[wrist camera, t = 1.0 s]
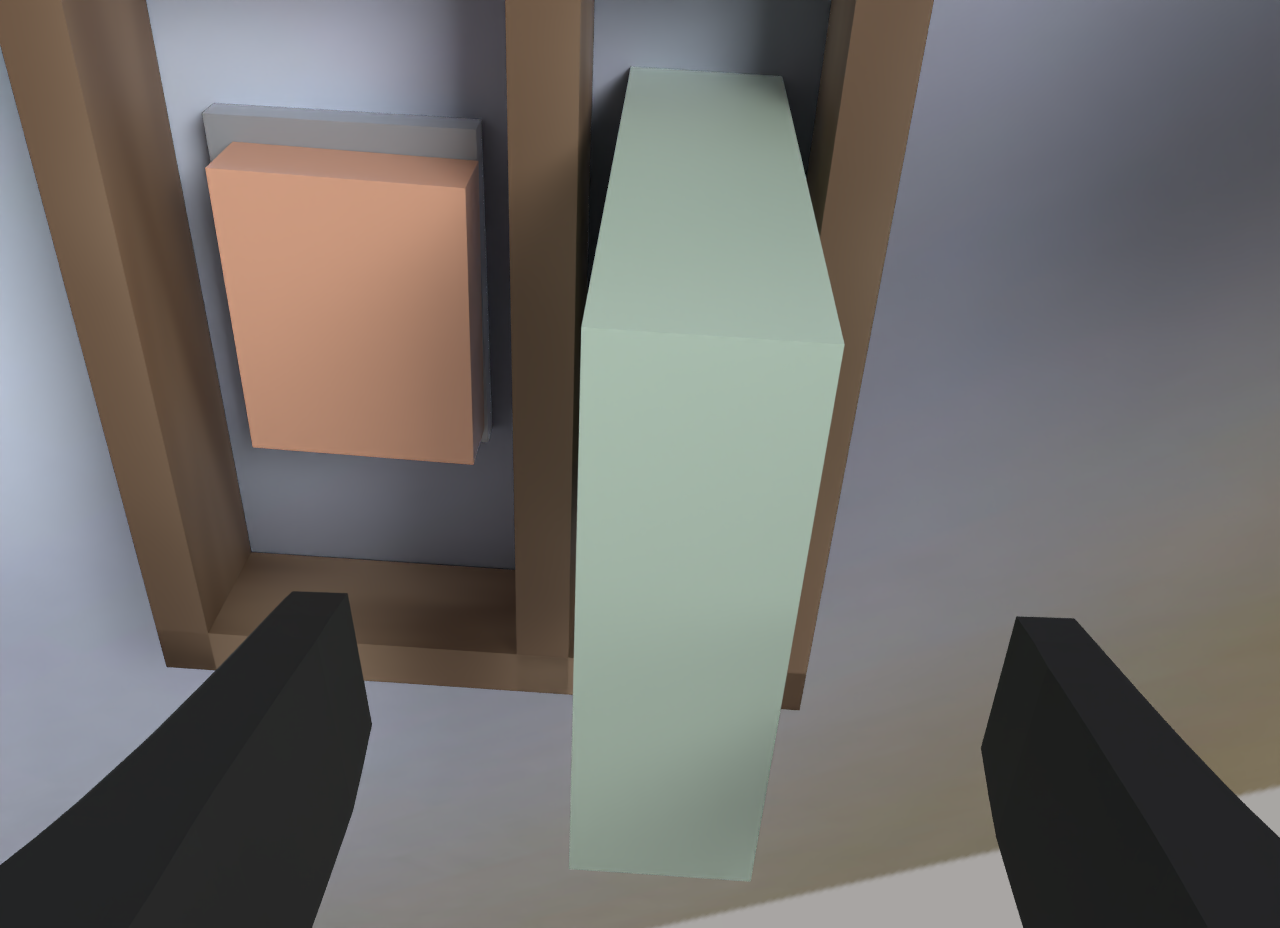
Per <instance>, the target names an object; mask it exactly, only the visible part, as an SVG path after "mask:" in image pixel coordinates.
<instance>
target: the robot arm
mask: <svg viewBox="0 0 1280 928" xmlns="http://www.w3.org/2000/svg"><path fill="white" fill-rule="evenodd" d="M371 726H372V722H371V717H370V712H369V706H368V701H367V695H366V690H365V684H364V679H363V673H362V668H361V663H360V657H359V652H358V646H357V641H356V635H355V630H354V624H353V619H352V614H351V608H350V603H349V597H348V593H329V592H301V591H292V592H291V593H290V594H289V595H288V596H287V597H286V598H284V599H283V600H282V601H281V603H280V604H279V605H278V606H277V607H276V608H275V609H274V610H273V611H272V612H271V613H270V614H269V615H268V616H267V617H266V618H265V619H264V620H263V621H262V622H261V623H260V624H259V625H258V627H257V628H256V629H255V630H254V631H253V632H252V633H251V634H250V635H249V636H248V637H247V638H246V639H245V640H244V641H243V642H242V643H241V644H240V646H239V647H238V648H237V649H236V650H235V651H234V652H233V653H232V654H231V655H230V656H229V657H228V658H227V659H226V660H225V661H224V662H223V663H222V664H221V665H220V666H219V667H218V668H217V669H216V671H215V672H214V673H213V674H212V675H211V676H210V677H209V678H208V679H207V680H206V681H205V682H204V683H203V684H202V685H201V686H200V687H199V688H198V689H197V690H196V691H195V692H194V693H193V694H192V695H191V696H190V697H189V698H188V699H187V700H186V701H185V702H184V703H183V704H182V705H181V706H180V707H179V708H178V709H177V710H176V711H175V712H174V713H173V714H172V715H171V716H170V717H169V718H168V719H167V720H166V721H165V722H164V723H163V724H162V725H161V726H160V727H159V728H158V729H157V730H156V731H155V732H154V733H153V734H151V735H150V736H149V737H148V738H147V739H146V740H145V741H144V742H143V743H142V744H141V745H140V746H139V747H138V748H137V749H136V750H134V751H133V752H132V753H131V754H130V755H129V756H128V757H127V758H126V759H125V760H123V761H122V762H121V763H120V764H119V765H118V766H117V767H116V768H115V769H114V770H112V771H111V772H110V773H109V774H108V775H107V776H106V777H105V778H104V779H103V780H101V781H100V782H99V783H98V784H97V785H96V786H95V787H94V788H93V789H92V790H90V791H89V792H88V793H87V794H86V795H85V796H84V797H83V798H82V799H80V800H79V801H78V802H77V803H76V804H75V805H73V806H72V807H71V808H70V809H69V810H68V811H66V812H65V813H64V814H63V815H62V816H60V817H59V818H58V819H57V820H56V821H55V822H53V823H52V824H51V825H50V826H49V827H47V828H46V829H45V830H44V831H43V832H41V833H40V834H39V835H38V836H36V837H35V838H34V839H33V840H32V841H30V842H29V843H28V844H27V845H25V846H24V847H23V848H21V849H20V850H19V851H18V852H16V853H15V854H14V855H13V856H11V857H10V858H9V859H7V860H6V861H5V862H4V863H2V864H1V865H0V928H312V926H313V923H314V920H315V918H316V915H317V912H318V909H319V906H320V904H321V901H322V898H323V895H324V892H325V890H326V887H327V884H328V881H329V878H330V875H331V873H332V870H333V867H334V864H335V861H336V858H337V855H338V853H339V850H340V847H341V844H342V841H343V838H344V835H345V832H346V830H347V827H348V824H349V821H350V818H351V815H352V812H353V808H354V804H355V799H356V795H357V791H358V787H359V782H360V778H361V774H362V769H363V764H364V760H365V755H366V750H367V745H368V741H369V736H370V731H371ZM981 751H982V757H983V763H984V770H985V776H986V782H987V788H988V795H989V800H990V806H991V811H992V817H993V822H994V827H995V833H996V838H997V841H998V845H999V848H1000V852H1001V855H1002V859H1003V862H1004V865H1005V869H1006V872H1007V875H1008V879H1009V882H1010V885H1011V889H1012V892H1013V895H1014V899H1015V902H1016V905H1017V909H1018V911H1019V915H1020V919H1021V922H1022V925H1023V928H1280V838H1279V837H1278V836H1277V835H1276V834H1275V833H1274V832H1273V831H1272V830H1271V829H1270V828H1269V827H1268V826H1267V825H1266V824H1265V823H1264V822H1263V821H1262V820H1261V819H1260V818H1259V817H1258V816H1256V815H1255V814H1254V813H1253V812H1252V811H1251V810H1250V809H1249V808H1248V807H1247V806H1246V805H1245V804H1244V803H1243V802H1242V801H1241V800H1240V799H1239V798H1238V797H1237V796H1236V795H1235V794H1234V793H1233V792H1232V791H1231V790H1230V789H1229V788H1228V787H1227V786H1226V785H1225V784H1224V783H1223V782H1222V781H1221V780H1220V778H1219V777H1218V776H1217V775H1216V774H1215V773H1214V772H1213V771H1212V770H1211V769H1210V768H1209V767H1208V766H1207V765H1206V764H1205V763H1204V762H1203V761H1202V760H1201V758H1200V757H1199V756H1198V755H1197V754H1196V753H1195V752H1194V751H1193V750H1192V749H1191V748H1190V747H1189V746H1188V745H1187V744H1186V743H1185V742H1184V741H1183V740H1182V738H1181V737H1180V736H1179V735H1178V734H1177V733H1176V732H1175V731H1174V730H1173V729H1172V728H1171V726H1170V725H1169V724H1168V723H1167V722H1166V721H1165V720H1164V719H1163V718H1162V717H1161V715H1160V714H1159V713H1158V712H1157V711H1156V710H1155V709H1154V708H1153V707H1152V705H1151V704H1150V703H1149V702H1148V701H1147V700H1146V699H1145V698H1144V696H1143V695H1142V694H1141V693H1140V692H1139V691H1138V690H1137V689H1136V688H1135V686H1134V685H1133V684H1132V683H1131V682H1130V681H1129V680H1128V678H1127V677H1126V676H1125V675H1124V674H1123V673H1122V672H1121V671H1120V669H1119V668H1118V667H1117V666H1116V665H1115V664H1114V663H1113V661H1112V660H1111V659H1110V658H1109V657H1108V656H1107V655H1106V654H1105V652H1104V651H1103V650H1102V649H1101V648H1100V647H1099V646H1098V645H1097V643H1096V642H1095V641H1094V640H1093V639H1092V638H1091V637H1090V636H1089V634H1088V633H1087V632H1086V631H1085V630H1084V629H1083V628H1082V627H1081V625H1080V624H1079V623H1078V622H1077V621H1076V620H1075V619H1072V618H1043V617H1016V620H1015V624H1014V627H1013V631H1012V635H1011V639H1010V642H1009V646H1008V650H1007V653H1006V657H1005V661H1004V664H1003V668H1002V672H1001V676H1000V679H999V683H998V687H997V690H996V694H995V698H994V702H993V705H992V709H991V713H990V716H989V720H988V724H987V728H986V731H985V735H984V739H983V742H982V746H981Z"/></svg>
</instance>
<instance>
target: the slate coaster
mask: <svg viewBox="0 0 1280 928" xmlns="http://www.w3.org/2000/svg"><path fill="white" fill-rule="evenodd" d="M202 116H203V122H204V127H205V133H206V139H207V144H208V150H209V155H210V161H211V162H212V161H213V160H214V159H215V158H216V157H217V156H218V155H219V154H220V153H221V152H222V151H223V150H224V149H225V148H226V147H227V146H228V145H230V144H231V143H232V142H244V143H257V144H270V145H283V146H296V147H308V148H321V149H334V150H347V151H359V152H372V153H385V154H398V155H410V156H423V157H436V158H449V159H462V160H474V161H479V205H480V249H481V293H482V338H483V384H484V432H483V435H482V439H481V442H488V441H489V438H490V434H491V431H492V404H491V376H490V347H489V319H488V291H487V262H486V234H485V205H484V177H483V149H482V120H481V119H472V118H455V117H439V116H422V115H405V114H389V113H372V112H355V111H339V110H322V109H305V108H288V107H272V106H255V105H238V104H222V103H214V104H212V105H211V106H210V107H209V108H208V109H206V110H205V111H204V112H203V113H202Z"/></svg>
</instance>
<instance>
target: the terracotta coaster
mask: <svg viewBox="0 0 1280 928" xmlns="http://www.w3.org/2000/svg"><path fill="white" fill-rule="evenodd" d="M205 170H206V176H207V182H208V188H209V194H210V199H211V205H212V211H213V217H214V223H215V229H216V235H217V241H218V246H219V252H220V258H221V264H222V270H223V276H224V282H225V287H226V293H227V299H228V305H229V311H230V317H231V323H232V329H233V334H234V340H235V346H236V352H237V358H238V364H239V370H240V376H241V381H242V387H243V393H244V399H245V405H246V411H247V417H248V423H249V428H250V434H251V440H252V446H253V447H255V448H267V449H280V450H292V451H305V452H318V453H330V454H343V455H355V456H368V457H381V458H393V459H406V460H418V461H431V462H444V463H456V464H469V465H474V462H475V459H476V455H477V452H478V449H479V445H480V442H481V439H482V435H483V432H484V384H483V338H482V293H481V249H480V205H479V161H474V160H462V159H449V158H436V157H423V156H410V155H398V154H385V153H372V152H359V151H347V150H334V149H321V148H308V147H296V146H283V145H270V144H257V143H244V142H232V143H231V144H230V145H228V146H227V147H226V148H225V149H224V150H223V151H222V152H221V153H220V154H219V155H218V156H217V157H216V158H215V159H214V160H213V161H212V162H211V163H210V164H209V165H208V166H207V167H205Z"/></svg>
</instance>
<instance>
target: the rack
mask: <svg viewBox="0 0 1280 928" xmlns="http://www.w3.org/2000/svg"><path fill="white" fill-rule="evenodd" d="M594 2H595V0H505V18H506V74H507V131H508V187H509V244H510V300H511V357H512V413H513V470H514V526H515V570H508V569H494V568H479V567H464V566H449V565H434V564H420V563H405V562H390V561H375V560H361V559H346V558H331V557H316V556H301V555H287V554H272V553H257V552H251V548H250V543H249V537H248V532H247V527H246V522H245V516H244V511H243V506H242V501H241V495H240V490H239V485H238V480H237V475H236V469H235V464H234V459H233V454H232V448H231V443H230V438H229V433H228V428H227V422H226V417H225V412H224V407H223V401H222V396H221V391H220V386H219V381H218V375H217V370H216V365H215V360H214V354H213V349H212V344H211V339H210V334H209V328H208V323H207V318H206V313H205V307H204V302H203V297H202V292H201V286H200V281H199V276H198V271H197V266H196V260H195V255H194V250H193V245H192V239H191V234H190V229H189V224H188V219H187V213H186V208H185V203H184V198H183V192H182V187H181V182H180V177H179V172H178V166H177V161H176V156H175V151H174V145H173V140H172V135H171V130H170V124H169V119H168V114H167V109H166V104H165V98H164V93H163V88H162V83H161V77H160V72H159V67H158V62H157V57H156V51H155V46H154V41H153V36H152V30H151V25H150V20H149V15H148V10H147V4H146V0H0V45H1V49H2V53H3V57H4V60H5V64H6V68H7V72H8V75H9V79H10V83H11V87H12V90H13V94H14V98H15V102H16V105H17V109H18V113H19V117H20V120H21V124H22V128H23V131H24V135H25V139H26V143H27V146H28V150H29V154H30V158H31V161H32V165H33V169H34V173H35V176H36V180H37V184H38V188H39V191H40V195H41V199H42V203H43V206H44V210H45V214H46V218H47V221H48V225H49V229H50V232H51V236H52V240H53V244H54V247H55V251H56V255H57V259H58V262H59V266H60V270H61V274H62V277H63V281H64V285H65V289H66V292H67V296H68V300H69V304H70V307H71V311H72V315H73V318H74V322H75V326H76V330H77V333H78V337H79V341H80V345H81V348H82V352H83V356H84V360H85V363H86V367H87V371H88V375H89V378H90V382H91V386H92V390H93V393H94V397H95V401H96V405H97V408H98V412H99V416H100V419H101V423H102V427H103V431H104V434H105V438H106V442H107V446H108V449H109V453H110V457H111V461H112V464H113V468H114V472H115V476H116V479H117V483H118V487H119V491H120V494H121V498H122V502H123V505H124V509H125V513H126V517H127V520H128V524H129V528H130V532H131V535H132V539H133V543H134V547H135V550H136V554H137V558H138V562H139V565H140V569H141V573H142V577H143V580H144V584H145V588H146V592H147V595H148V599H149V603H150V606H151V610H152V614H153V618H154V621H155V625H156V629H157V633H158V636H159V640H160V644H161V648H162V651H163V655H164V659H165V663H166V666H167V667H175V668H189V669H204V670H216V669H217V668H218V667H219V666H220V665H221V664H222V663H223V662H224V661H225V660H226V659H227V658H228V657H229V656H230V655H231V654H232V653H233V652H234V651H235V650H236V649H237V648H238V647H239V646H240V644H241V643H242V642H243V641H244V640H245V639H246V638H247V637H248V636H249V635H250V634H251V633H252V632H253V631H254V630H255V629H256V628H257V627H258V625H259V624H260V623H261V622H262V621H263V620H264V619H265V618H266V617H267V616H268V615H269V614H270V613H271V612H272V611H273V610H274V609H275V608H276V607H277V606H278V605H279V604H280V603H281V601H282V600H283V599H284V598H286V597H287V596H288V595H289V594H290V593H291V592H292V591H301V592H329V593H348V597H349V603H350V608H351V614H352V619H353V624H354V630H355V635H356V641H357V646H358V652H359V657H360V663H361V668H362V673H363V679H364V681H379V682H394V683H408V684H423V685H437V686H452V687H467V688H481V689H496V690H510V691H525V692H539V693H554V694H569V695H573V672H574V629H575V585H576V541H577V497H578V453H579V409H580V365H581V327H582V321H583V316H584V311H585V306H586V300H587V277H588V238H589V199H590V159H591V120H592V81H593V42H594ZM933 2H934V0H831V7H830V15H829V22H828V29H827V36H826V43H825V50H824V57H823V65H822V72H821V79H820V86H819V93H818V100H817V107H816V115H815V122H814V129H813V136H812V143H811V150H810V158H809V165H808V172H807V179H806V181H807V185H808V189H809V194H810V198H811V202H812V207H813V211H814V215H815V219H816V224H817V228H818V232H819V237H820V241H821V245H822V250H823V254H824V258H825V263H826V267H827V271H828V275H829V280H830V284H831V288H832V293H833V297H834V301H835V306H836V310H837V314H838V319H839V323H840V327H841V331H842V336H843V340H844V344H845V345H844V350H843V356H842V362H841V368H840V373H839V379H838V385H837V390H836V396H835V402H834V408H833V413H832V419H831V425H830V430H829V436H828V442H827V448H826V453H825V459H824V465H823V470H822V476H821V482H820V487H819V493H818V499H817V505H816V510H815V516H814V522H813V527H812V533H811V539H810V545H809V550H808V556H807V562H806V567H805V573H804V579H803V585H802V590H801V596H800V602H799V607H798V613H797V619H796V625H795V630H794V636H793V642H792V647H791V653H790V659H789V664H788V670H787V676H786V682H785V687H784V693H783V699H782V704H781V709H787V710H800V704H801V699H802V694H803V688H804V683H805V678H806V673H807V667H808V662H809V657H810V651H811V646H812V641H813V636H814V630H815V625H816V620H817V615H818V609H819V604H820V599H821V593H822V588H823V583H824V578H825V572H826V567H827V562H828V556H829V551H830V546H831V541H832V535H833V530H834V525H835V519H836V514H837V509H838V504H839V498H840V493H841V488H842V483H843V477H844V472H845V467H846V461H847V456H848V451H849V446H850V440H851V435H852V430H853V424H854V419H855V414H856V409H857V403H858V398H859V393H860V387H861V382H862V377H863V372H864V366H865V361H866V356H867V351H868V345H869V340H870V335H871V329H872V324H873V319H874V314H875V308H876V303H877V298H878V292H879V287H880V282H881V277H882V271H883V266H884V261H885V255H886V250H887V245H888V240H889V234H890V229H891V224H892V219H893V213H894V208H895V203H896V197H897V192H898V187H899V182H900V176H901V171H902V166H903V160H904V155H905V150H906V145H907V139H908V134H909V129H910V123H911V118H912V113H913V108H914V102H915V97H916V92H917V87H918V81H919V76H920V71H921V65H922V60H923V55H924V50H925V44H926V39H927V34H928V28H929V23H930V18H931V13H932V7H933Z"/></svg>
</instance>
